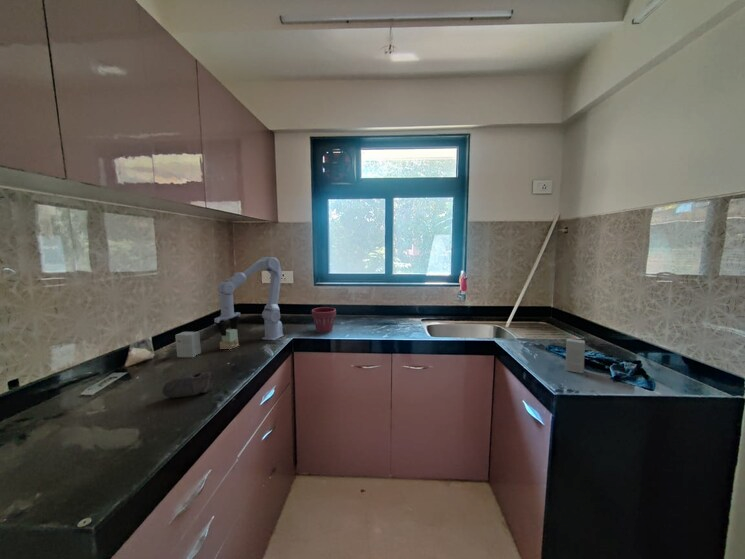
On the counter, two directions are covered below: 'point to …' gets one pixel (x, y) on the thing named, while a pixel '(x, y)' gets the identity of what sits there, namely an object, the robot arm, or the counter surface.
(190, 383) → the perforated stone tool
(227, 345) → the slab top
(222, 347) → the slab bottom
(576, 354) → the skincare box
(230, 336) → the sage cube
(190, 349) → the small box
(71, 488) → the counter surface
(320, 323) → the plant pot
